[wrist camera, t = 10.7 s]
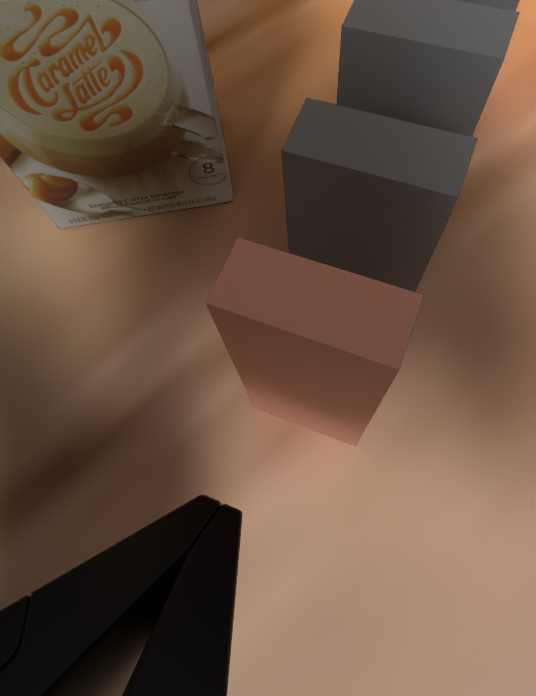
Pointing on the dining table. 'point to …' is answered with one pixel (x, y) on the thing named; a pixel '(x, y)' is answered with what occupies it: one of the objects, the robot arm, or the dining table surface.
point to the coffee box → (110, 108)
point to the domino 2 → (370, 190)
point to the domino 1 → (422, 60)
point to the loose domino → (311, 336)
